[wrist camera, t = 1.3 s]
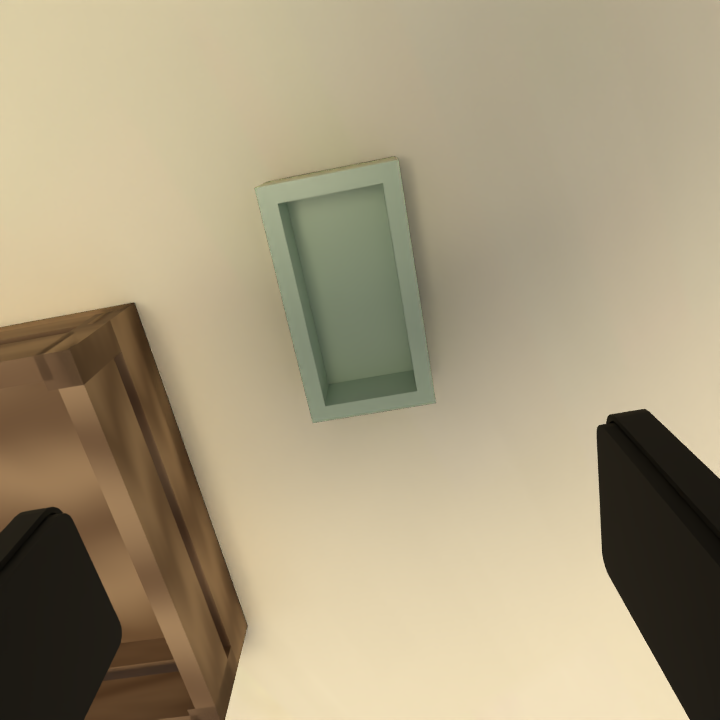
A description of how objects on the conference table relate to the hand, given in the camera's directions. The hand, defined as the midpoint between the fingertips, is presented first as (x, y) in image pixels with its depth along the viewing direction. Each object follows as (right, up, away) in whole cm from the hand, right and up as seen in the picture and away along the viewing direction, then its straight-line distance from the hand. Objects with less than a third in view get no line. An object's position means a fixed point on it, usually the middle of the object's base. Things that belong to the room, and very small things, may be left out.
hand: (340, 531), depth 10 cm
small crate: (0, +6, +15) cm, 17 cm away
